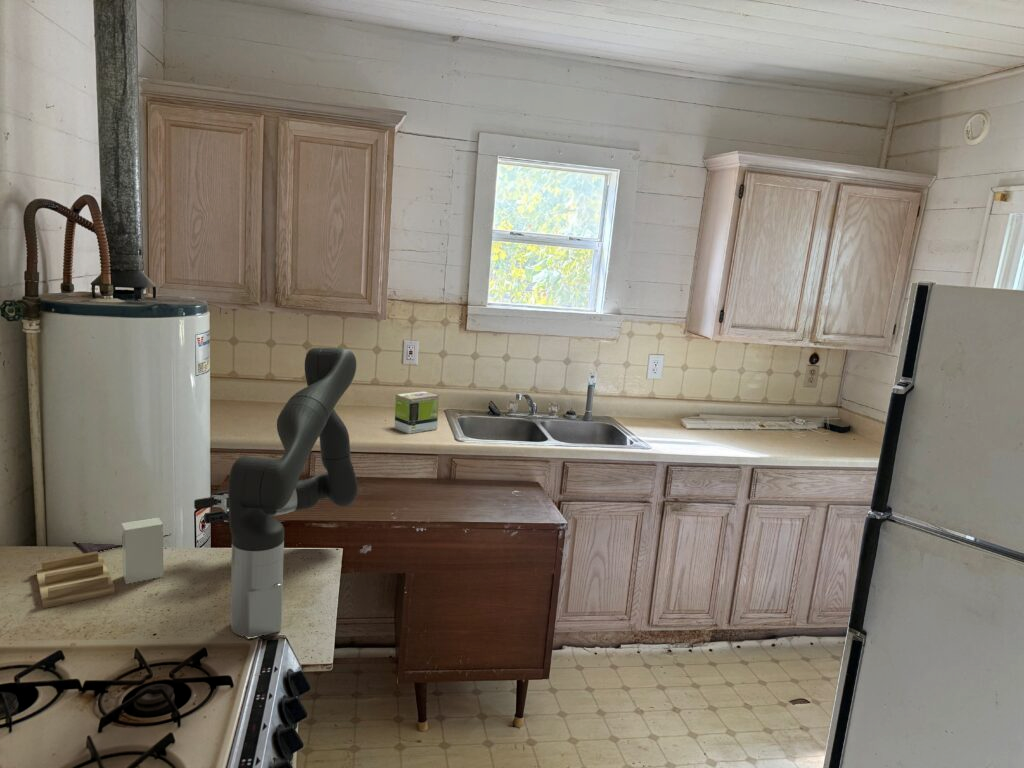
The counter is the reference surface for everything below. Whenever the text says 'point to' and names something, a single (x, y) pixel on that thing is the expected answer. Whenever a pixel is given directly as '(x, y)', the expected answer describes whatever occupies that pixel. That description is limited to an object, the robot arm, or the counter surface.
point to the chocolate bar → (96, 547)
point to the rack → (73, 579)
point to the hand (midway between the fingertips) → (199, 511)
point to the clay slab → (142, 550)
